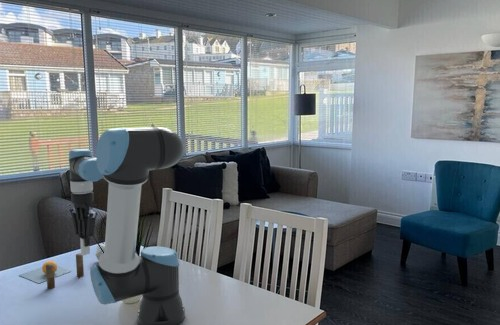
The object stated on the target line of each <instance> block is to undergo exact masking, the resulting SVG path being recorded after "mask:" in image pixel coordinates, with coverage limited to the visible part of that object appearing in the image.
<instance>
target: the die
mask: <svg viewBox="0 0 500 325" xmlns="http://www.w3.org/2000/svg"><path fill="white" fill-rule="evenodd" d="M99 245H100V247H101V248H102V249H103V251H104V252H105V243H100V244H99ZM99 245H98V246H97V248H96V249H97V250H96V252H95V257H96V259H97V260H99V257H100V256H101V254H103V253H102V251H101V249H100V247H99Z"/></svg>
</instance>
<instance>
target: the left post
mask: <svg viewBox="0 0 500 325" xmlns="http://www.w3.org/2000/svg"><path fill="white" fill-rule="evenodd" d="M46 275H47V281H46V288H47V289H48V290H53V289H54V288H55V287H56V285H55V284H56V283H55V278H54V264H52V263H50V264H47V265H46Z"/></svg>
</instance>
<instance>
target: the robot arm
mask: <svg viewBox="0 0 500 325" xmlns="http://www.w3.org/2000/svg"><path fill="white" fill-rule="evenodd" d="M92 155H93V154H92V150H90V149H87V148H78V149H77V148H76V149H70V150H69V153H68V164H69V167H68V168H69V180H70V181H69V183H70V192H71V194H70V196H71V197H70V198H71V199H70V200H71V203H72V204H73V208H69V212H70V214H71V218H72V224H73V228H74V233H75V235H77V236H78V237H79V245H80V253H81V255H83V257H84V256H87V255H89V254H90V253H91V248H90V247H91V241H90V240H91V239H90V238H91V237H93V236H94V235H95V228H96V227H95V226H96V220H97V217H98V212H97V211H94V210H93V206H92V203H93V202H94V200H95V198H94V196H95V195H94V192H93V190H94V183H95V182H98V181H100V180H102V179H104V180H105V181H106V182H107V183H108V187H107V189H108V191H107V192H108V193H107V207H106V225H105V237H104V238H105V239H104V240H105V241H104V244H105V252H104V253H103V254H101V256H100V257H99V260H98V259H97V260H98V263H97V265H94V266H92V267H91V268H90V269H89V270H90V272H89V274H90V281H91V285H92V288H93V292H94V294H95V297H96V298H97V301H98V302H99V303H100V304H101V305H110V304H116V303H118V302H122V301H126V300H128V299H131V298H135V297H139V296H142V297H141V301H140V303H139V307H138V308H139V309H138V310H137V315H136V316H137V324H138V325H180V324H181V323H182V322H183V321H184V319H185V318H186V310H185V306H184V304H183V301H182V297H181V295H180V277H179V275H180V274H179V273H180V270H179V268H180V262H179V255H178V252H177V251H176V250H174V249H172V248H170V247H165V246H157V245H156V246H148V247H147V246H146V247H144V248H142V249H141V251H140V252H139V255H138V253H136V247H137V237H138V225H139V216H140V206H141V205H140V204H141V196H142V185H144V184H145V183H146V182H147V181H148V180H149V172H150V171H155V170H162V169H167V168H171V167H173V166H175V165H176V164H178V163H179V161H181V159H182V157H183V155H184V142H183V141H182V139H181V137H180V136H179V135H178V134H177V133H176V132H175V131H173V130H172V129H169V128H166V127H162V126H153V127H151V126H150V127H149V126H146V127H124V126H123V127H117V128H108V129H106V130H104V131H103V133H101V134H100V136H99V138H98V140H97V144H96V149H95V157H93V156H92ZM93 182H94V183H93Z"/></svg>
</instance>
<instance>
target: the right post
mask: <svg viewBox="0 0 500 325" xmlns="http://www.w3.org/2000/svg"><path fill="white" fill-rule="evenodd" d="M75 265H76V266H75V267H76V277H77V278H83V277H84V276H85V272H84V270H85V269H84V268H85V267H84V256H83V255H81V252H80V253H76V254H75Z"/></svg>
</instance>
